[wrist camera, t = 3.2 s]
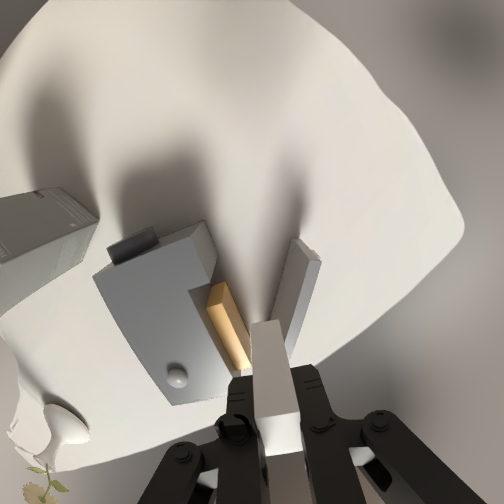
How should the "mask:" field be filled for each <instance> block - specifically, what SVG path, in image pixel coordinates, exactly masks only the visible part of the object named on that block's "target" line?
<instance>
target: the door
mask: <svg viewBox="0 0 504 504" xmlns="http://www.w3.org/2000/svg"><path fill="white" fill-rule="evenodd" d="M321 263H322V262H321V261H320V256H319V255H318V254H317V253H316V252H315V251H314V250H310V249H309V248H308V247H307V245H306V244H305V243H304V242H303V241H302V240H301V239H297V238H292V239H291V243H290V247H289V251H288V254H287V258H286V262H285V266H284V270H283V274H282V278H281V281H280V285H279V289H278V292H277V296H276V300H275V303H274V307H273V311H272V314H271V318H270V321H271V320H276V319H279V322H280V327H281V331H282V335H283V340H284V344H285V348H286V353H287V357H288V362H289V360H290V358H291V355H292V352H293V349H294V347H295V344H296V341H297V338H298V335H299V332H300V329H301V327H302V324H303V321H304V318H305V315H306V311H307V308H308V305H309V302H310V299H311V296H312V293H313V289H314V286H315V283H316V280H317V276H318V273H319V270H320V266H321Z"/></svg>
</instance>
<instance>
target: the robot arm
mask: <svg viewBox="0 0 504 504" xmlns="http://www.w3.org/2000/svg"><path fill="white" fill-rule="evenodd" d="M251 344H252V368H253V375H249V376H242V377H234V378H233V379H232V380H231V382H230V383H229V385H228V396H227V409H226V414H224V415H222V416H220V417H219V418H218V420H217V421H216V423H215V425H214V427H215V429H216V432H217V434H218V436H219V438H218V439H216V440H215V441H213V442H210V443H207V444H203V445H200V446H197V445H195V444H194V443H191V442H179V443H176V444H174V445H172V446H171V447H170V448H169V449H168V450H167V452H166V453H165V455H164V457H163V459H162V461H161V462H160V464H159V466H158V468H157V470H156V471H155V473H154V475H153V477H152V479H151V480H150V482H149V484H148V486H147V487H146V489H145V491H144V493H143V494H142V496H141V498H140V500H139V502H138V503H137V504H213V503H214V501H215V498H216V497H217V498H216V504H271V502H270V490H269V478H268V467H267V464H266V458H265V454H266V456H271V455H278V454H285V453H291V452H297V451H302V450H303V452H304V459H305V469H306V471H307V476H308V482H309V487H310V492H311V497H312V503H313V504H366V501H365V497H364V494H363V491H362V488H361V485H360V482H359V479H358V475H357V472H356V469H355V466H357V467H358V468H359V469H360V471H361V472H362V473H363V475H364V476H365V477H366V479H367V480H368V481H369V483H370V484H371V485H372V487H373V488H374V489H375V491H376V492H377V493H378V494H379V496H380V497H381V499H382V500H383V501H384V502H385V504H487V503H485V502H484V501H483V500H482V499H481V498H480V497H479V496H478V495H477V494H476V493H475V492H474V491H473V490H472V489H471V488H470V487H468V486H467V485H466V484H465V483H464V482H463V481H462V480H461V479H460V478H459V477H458V476H457V475H456V474H455V473H454V472H453V471H452V470H451V469H450V468H449V467H448V466H447V465H445V464H444V463H443V462H442V461H441V460H440V459H439V458H438V457H437V456H436V455H435V454H434V453H433V452H432V451H431V450H430V449H429V448H428V447H427V446H426V445H425V444H424V443H423V442H422V441H421V440H420V439H419V438H418V437H417V436H416V435H415V434H414V433H413V432H412V431H411V430H410V429H408V427H407V426H406V425H405V424H404V423H403V422H402V421H401V420H400V419H399V418H398V417H397V416H396V415H395V414H393V413H391V412H390V411H386V410H376V411H374V412H371V413H369V414H368V415H367V416H366V417H365V418H364V419H362V420H347V419H342V418H340V417H338V416H337V415H336V414H335V413H333V411H332V409H331V406H330V403H329V400H328V398H327V395H326V392H325V389H324V386H323V383H322V380H321V378H320V375H319V372H318V370H317V369H316V368H315V367H314V366H313V365H311V364H309V365H304V366H299V367H294V368H290V366H289V362H288V357H287V353H286V348H285V344H284V340H283V335H282V331H281V327H280V322H279V319H276V320H271V321H265V322H259V323H252V324H251Z"/></svg>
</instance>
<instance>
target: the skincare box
mask: <svg viewBox="0 0 504 504" xmlns="http://www.w3.org/2000/svg"><path fill="white" fill-rule="evenodd" d="M99 221H100V220H99V219H97V218H96V217H95V216H93V215H92V214H91V213H90V212H89V211H88V210H86V209H85V208H84V207H83V206H82V205H81V204H79V203H78V202H77V201H76V200H74V199H73V198H72V197H71V196H69V195H68V194H67V193H66V192H64V191H63V190H62V189H60V188H59V187H56V188H49V189H44V190H38V191H33V192H27V193H22V194H17V195H12V196H8V197H3V198H0V317H1V316H2V315H3V314H4V313H6V312H7V311H8V310H10V309H11V308H12V307H14V306H15V305H16V304H18V303H19V302H21V301H22V300H24V299H25V298H26V297H28V296H29V295H31V294H32V293H34V292H35V291H37V290H38V289H40V288H41V287H43V286H44V285H46V284H47V283H49V282H50V281H52V280H54V279H55V278H57V277H58V276H60V275H62V274H63V273H65V272H66V271H68V270H70V269H71V268H73V267H75V266H76V265H78V264H79V263H81V262H82V261H83V258H84V256H85V253H86V251H87V248H88V246H89V243H90V241H91V238H92V236H93V234H94V232H95V229H96V227H97V225H98V223H99Z"/></svg>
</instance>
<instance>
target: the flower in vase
mask: <svg viewBox="0 0 504 504" xmlns="http://www.w3.org/2000/svg"><path fill="white" fill-rule="evenodd" d="M44 416H45V419H46V422H47V424H48V426H49V428H50V431H51V434H52V437H51V440H50V442H49V444H48V446H47V447H46V448H45V450H44V451H43V452H42V453H40V454H38V455H34V456H33V457H34V459H35V460H36V461H37V462H38V463H39V464H40V465H42V466H43V467H45V468H46V471H47V472H46V471H44V470H42V469H40V468H36V467H29V468H27V469H30V470H32V471H34V472H37V473H47V475H48V479H49V487H48V489H47V490H46V489H44V488H43V487H39V485H35V484H33V483H31V482H30V483H29V484H26V485H23V487H24V488H23V491H24V493H23V495H24V497H25V501H27V502H28V503H29V504H58V502H57V500H56V499H55V498H54V496H51V495H50V493H49V489H50V485H51V484H52V486H53V487H54V488H55V489H56V490H57V491H59V492H68V490H67V489H66V488H65V487H64V486H63V485H61V484H60V483H59V482H58V481H57V480H53V481H51V482H50V477H49V473H48V470H49V471H51V472H55V473H56V469H55V458H56V455H57V452H58V450H59V448H60V447H61V446H62V445H63V444H65V443H73V444H81V443H86V442H87V441H89V440H90V433H89V431H88V429H87V427H86V426H85V425H84V424H83V422H82V421H81V420H79V419H78V418H77V417H76V416H75V415H74V414H72V413H71V412H69V411H68V410H66V409H64V408H63V407H61V406H58V405H55V404H47V405H45V406H44Z"/></svg>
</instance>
